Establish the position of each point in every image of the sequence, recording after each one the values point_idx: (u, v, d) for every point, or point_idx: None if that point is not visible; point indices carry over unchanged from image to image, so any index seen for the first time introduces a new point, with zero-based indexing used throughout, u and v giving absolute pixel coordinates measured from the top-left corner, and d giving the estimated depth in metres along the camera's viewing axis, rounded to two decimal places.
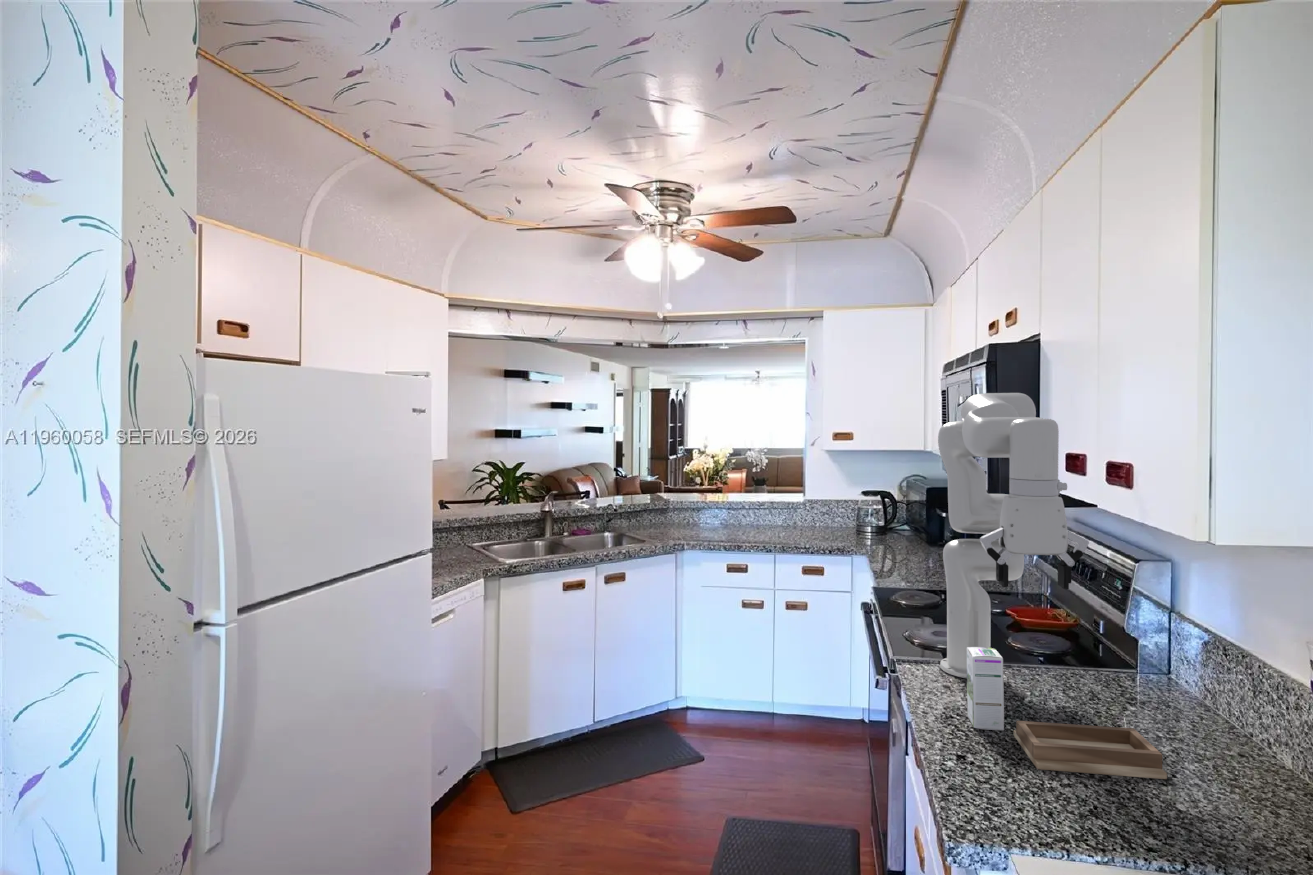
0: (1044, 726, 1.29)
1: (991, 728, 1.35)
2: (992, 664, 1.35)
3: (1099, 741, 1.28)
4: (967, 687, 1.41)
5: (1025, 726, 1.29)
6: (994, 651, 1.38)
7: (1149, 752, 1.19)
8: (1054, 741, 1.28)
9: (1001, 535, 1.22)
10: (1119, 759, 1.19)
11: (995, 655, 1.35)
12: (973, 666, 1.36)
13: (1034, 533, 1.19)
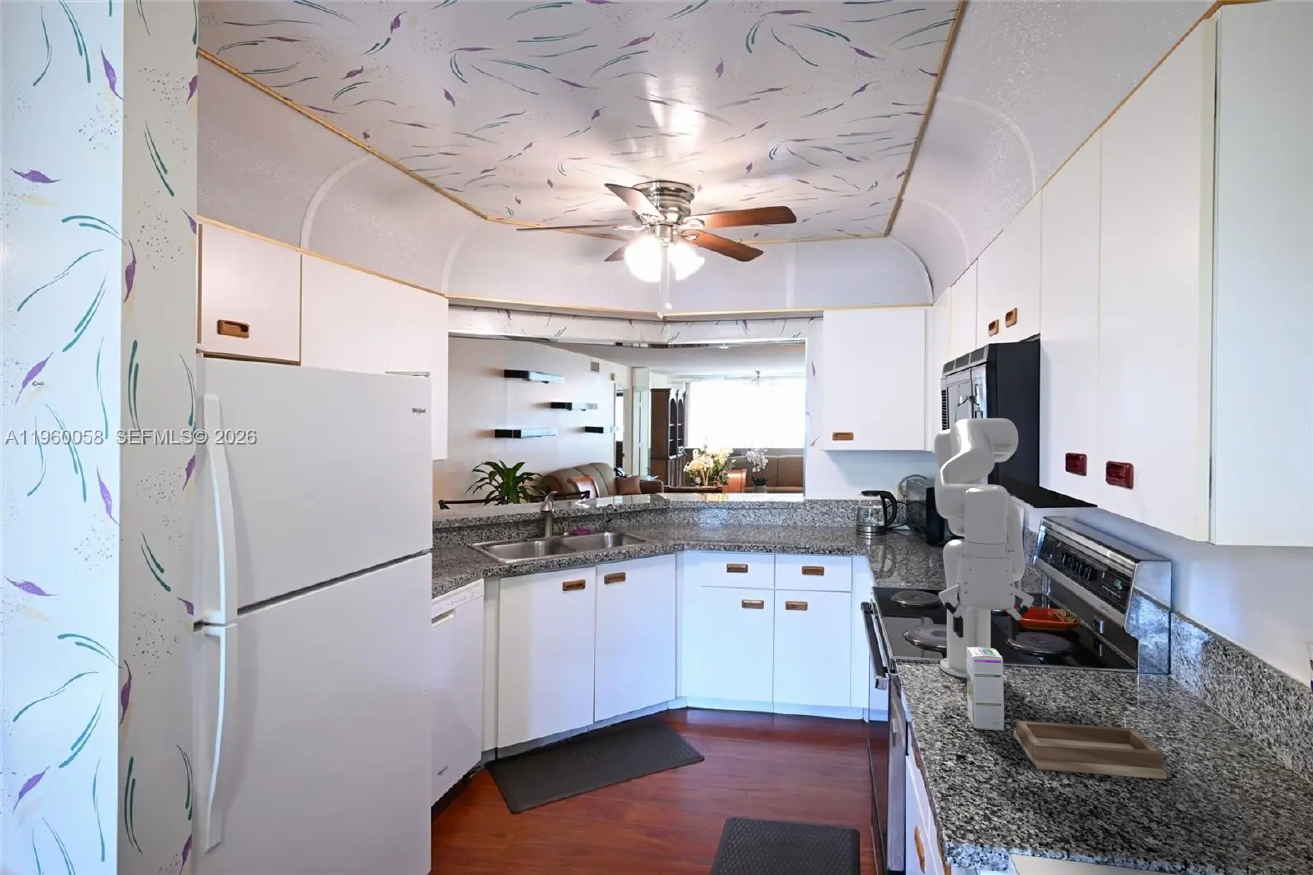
0: (1044, 726, 1.29)
1: (991, 728, 1.35)
2: (992, 664, 1.35)
3: (1099, 741, 1.28)
4: (967, 687, 1.41)
5: (1025, 726, 1.29)
6: (994, 651, 1.38)
7: (1149, 752, 1.19)
8: (1054, 741, 1.28)
9: (957, 591, 1.38)
10: (1119, 759, 1.19)
11: (995, 655, 1.35)
12: (973, 666, 1.36)
13: (985, 590, 1.35)
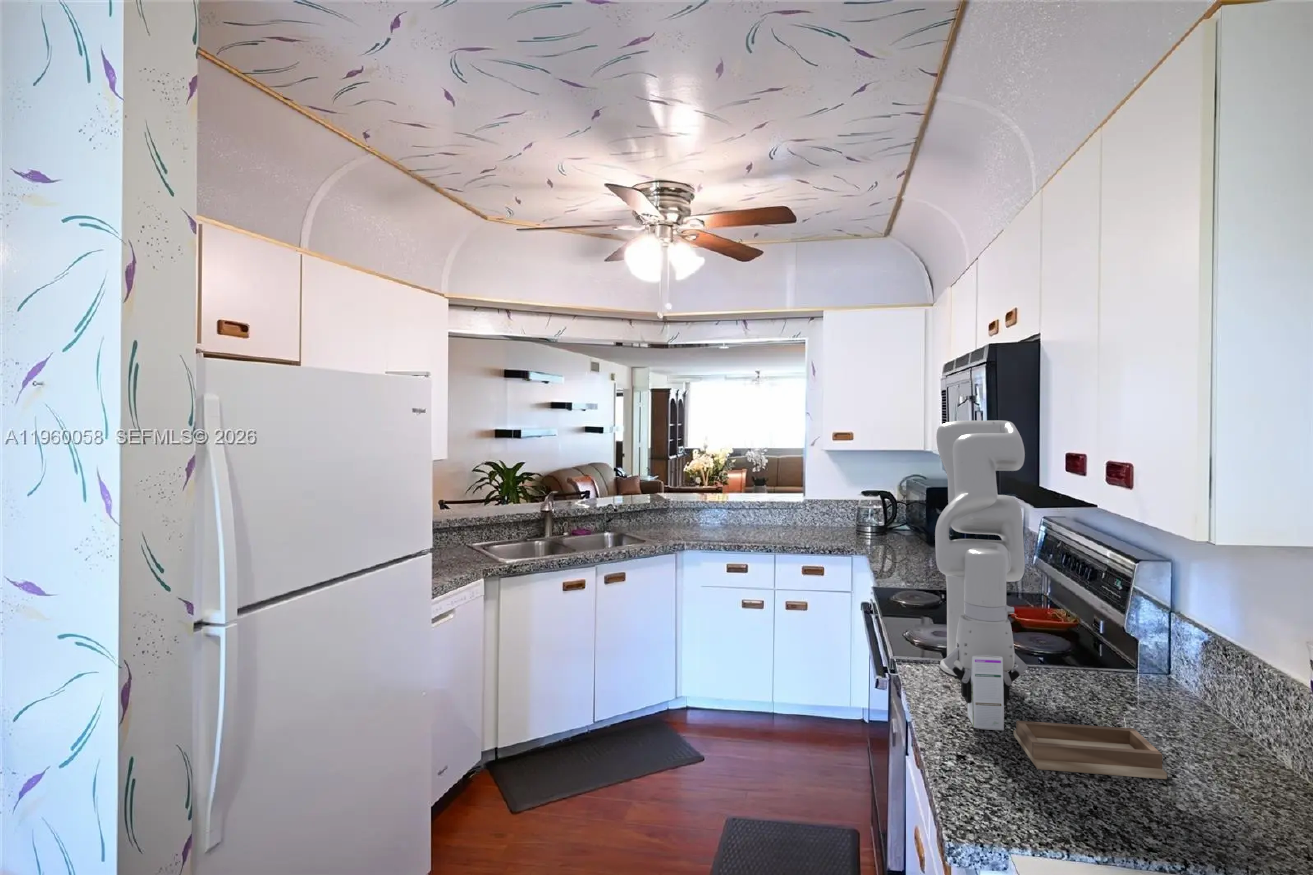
0: (1044, 726, 1.29)
1: (991, 728, 1.35)
2: (992, 664, 1.35)
3: (1099, 741, 1.28)
4: None
5: (1025, 726, 1.29)
6: None
7: (1149, 752, 1.19)
8: (1054, 741, 1.28)
9: None
10: (1119, 759, 1.19)
11: None
12: (973, 666, 1.36)
13: (985, 652, 1.35)
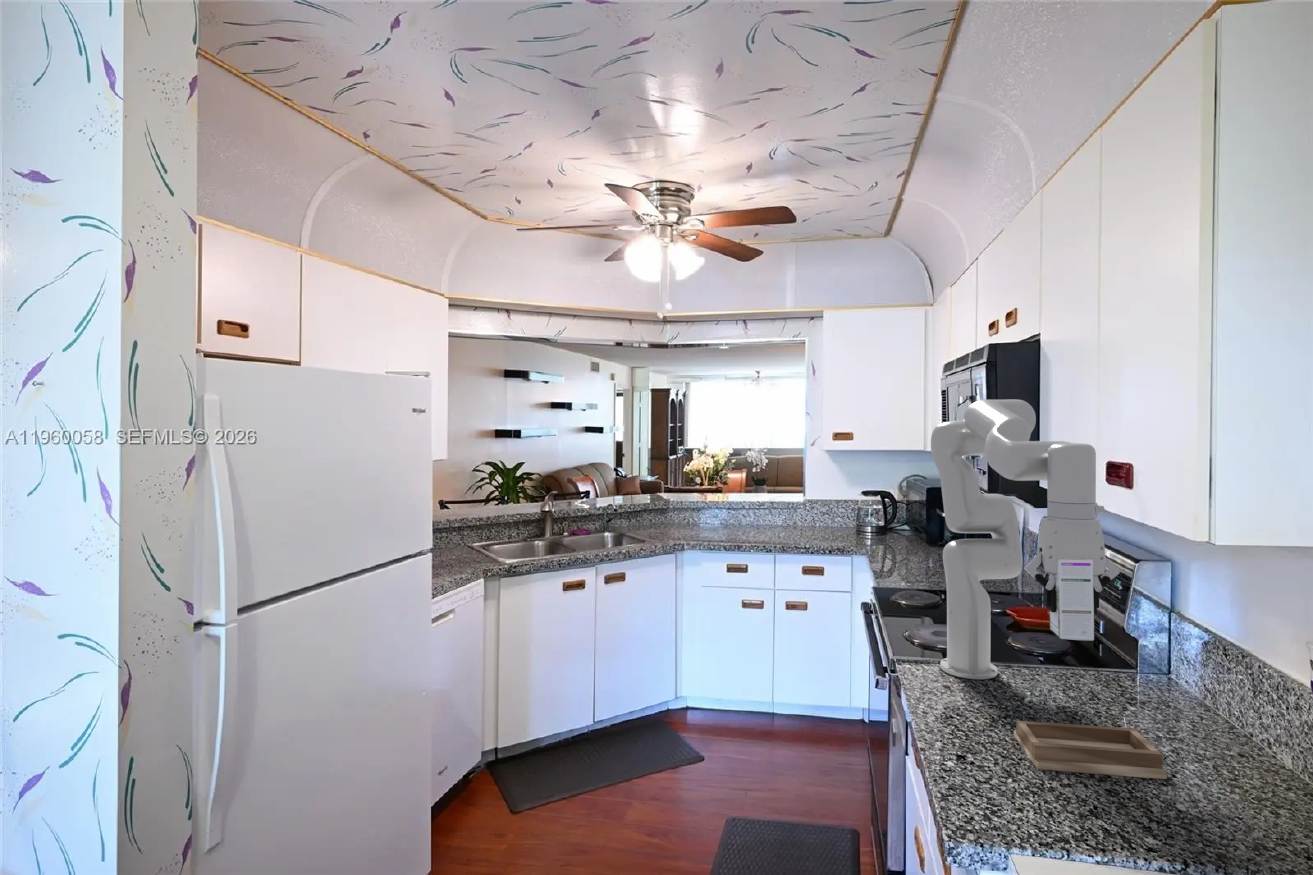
0: (1044, 726, 1.29)
1: (1080, 638, 1.23)
2: (1081, 567, 1.23)
3: (1099, 741, 1.28)
4: None
5: (1025, 726, 1.29)
6: None
7: (1149, 752, 1.19)
8: (1054, 741, 1.28)
9: None
10: (1119, 759, 1.19)
11: None
12: (1059, 570, 1.23)
13: (1072, 555, 1.23)
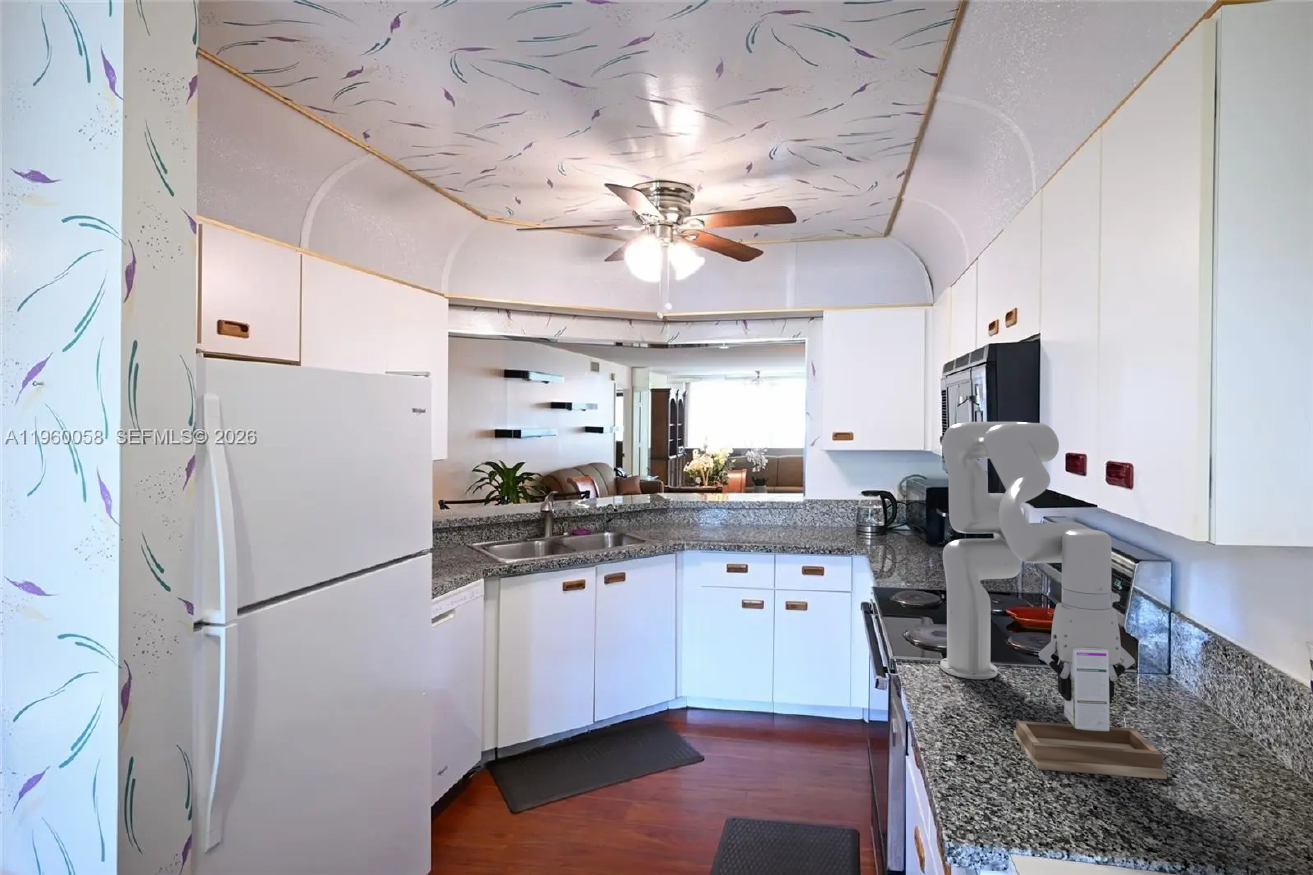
0: (1044, 726, 1.29)
1: (1095, 729, 1.22)
2: (1096, 657, 1.21)
3: (1099, 741, 1.28)
4: None
5: (1025, 726, 1.29)
6: None
7: (1149, 752, 1.19)
8: (1054, 741, 1.28)
9: None
10: (1119, 759, 1.19)
11: None
12: (1074, 660, 1.22)
13: (1088, 644, 1.22)
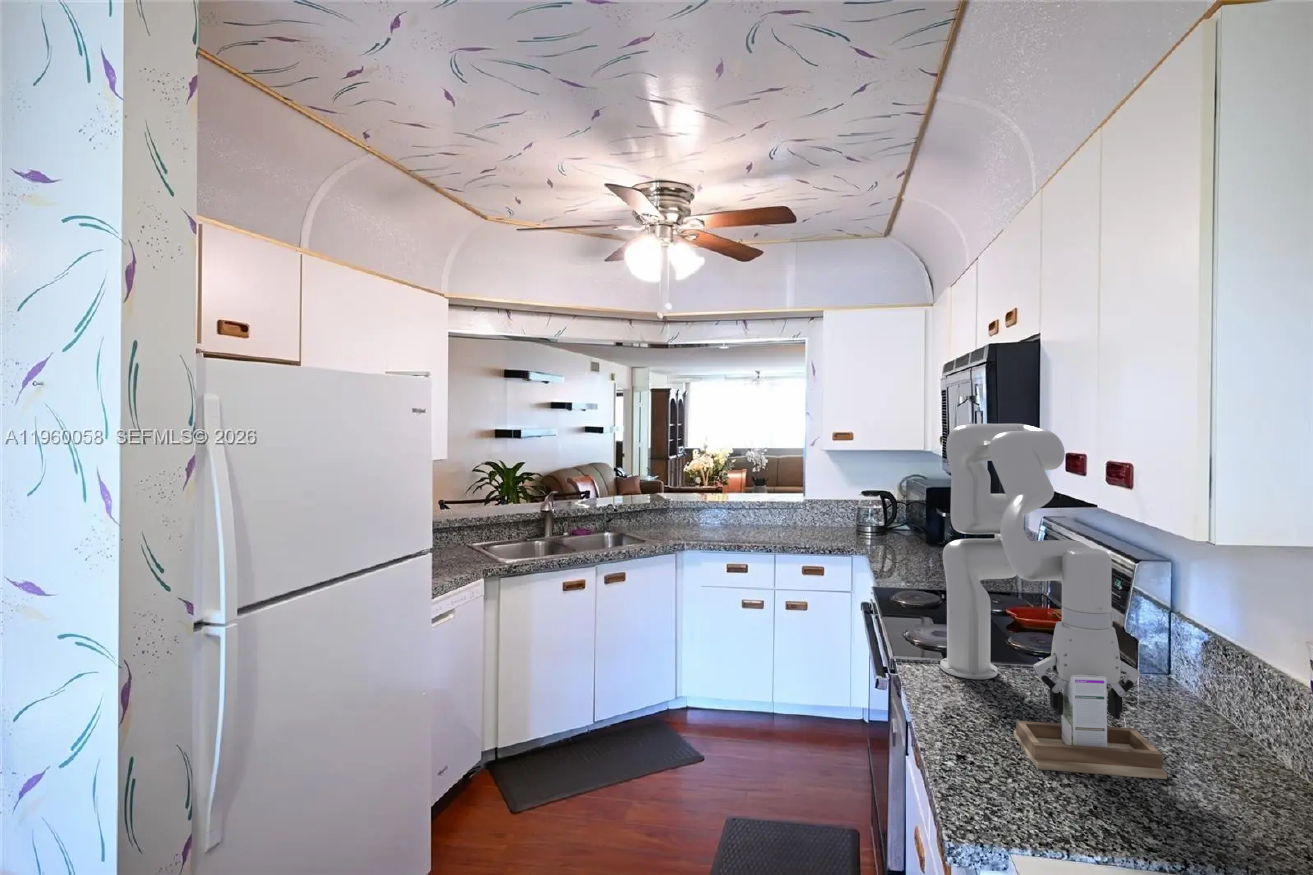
0: (1044, 726, 1.29)
1: None
2: (1094, 685, 1.22)
3: None
4: None
5: (1025, 726, 1.29)
6: None
7: (1149, 752, 1.19)
8: (1054, 741, 1.28)
9: (1054, 663, 1.25)
10: (1119, 759, 1.19)
11: None
12: (1073, 687, 1.22)
13: (1087, 663, 1.22)
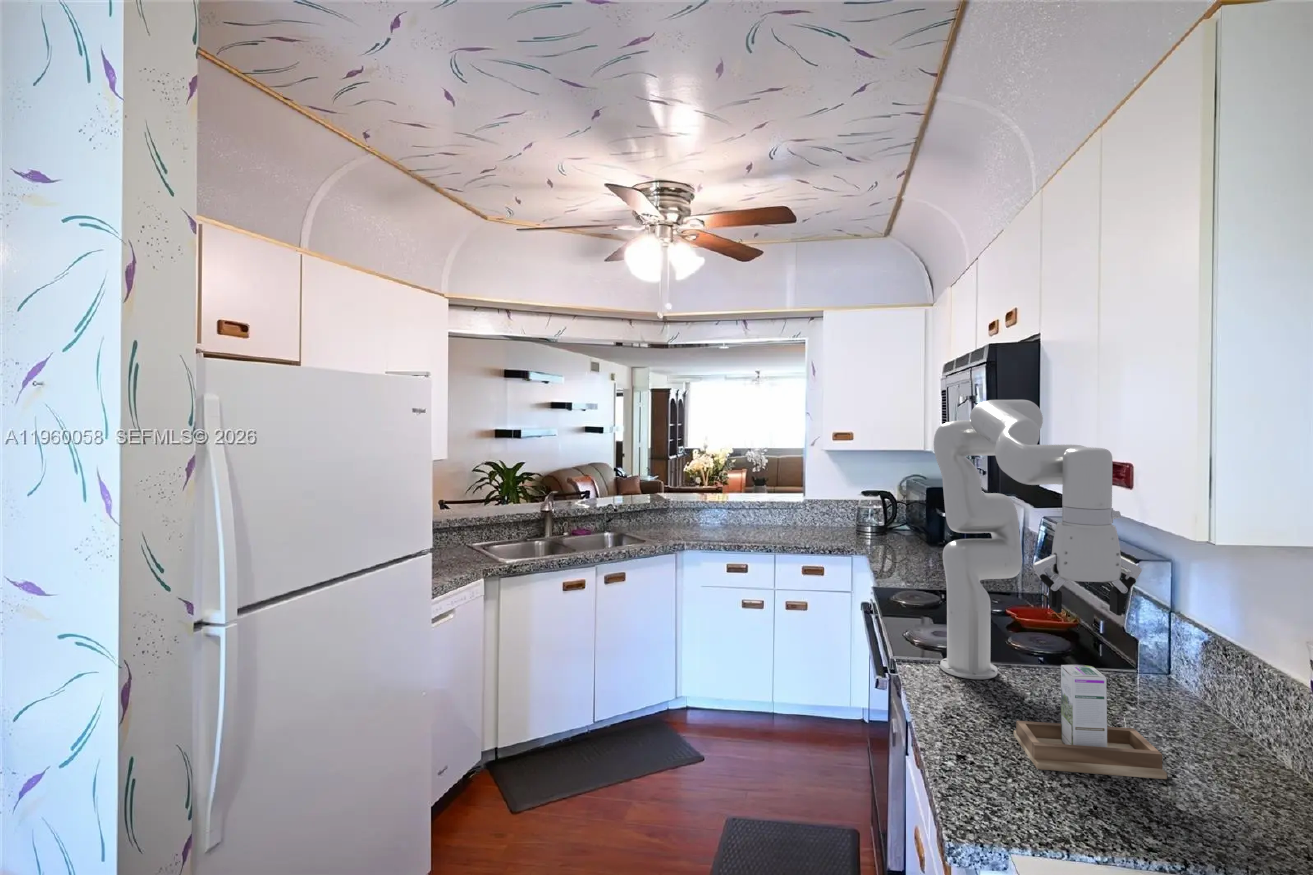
0: (1044, 726, 1.29)
1: None
2: (1094, 684, 1.22)
3: None
4: (1062, 709, 1.27)
5: (1025, 726, 1.29)
6: (1093, 670, 1.25)
7: (1149, 752, 1.19)
8: (1054, 741, 1.28)
9: (1054, 562, 1.24)
10: (1119, 759, 1.19)
11: (1097, 674, 1.22)
12: (1073, 687, 1.22)
13: (1088, 561, 1.22)
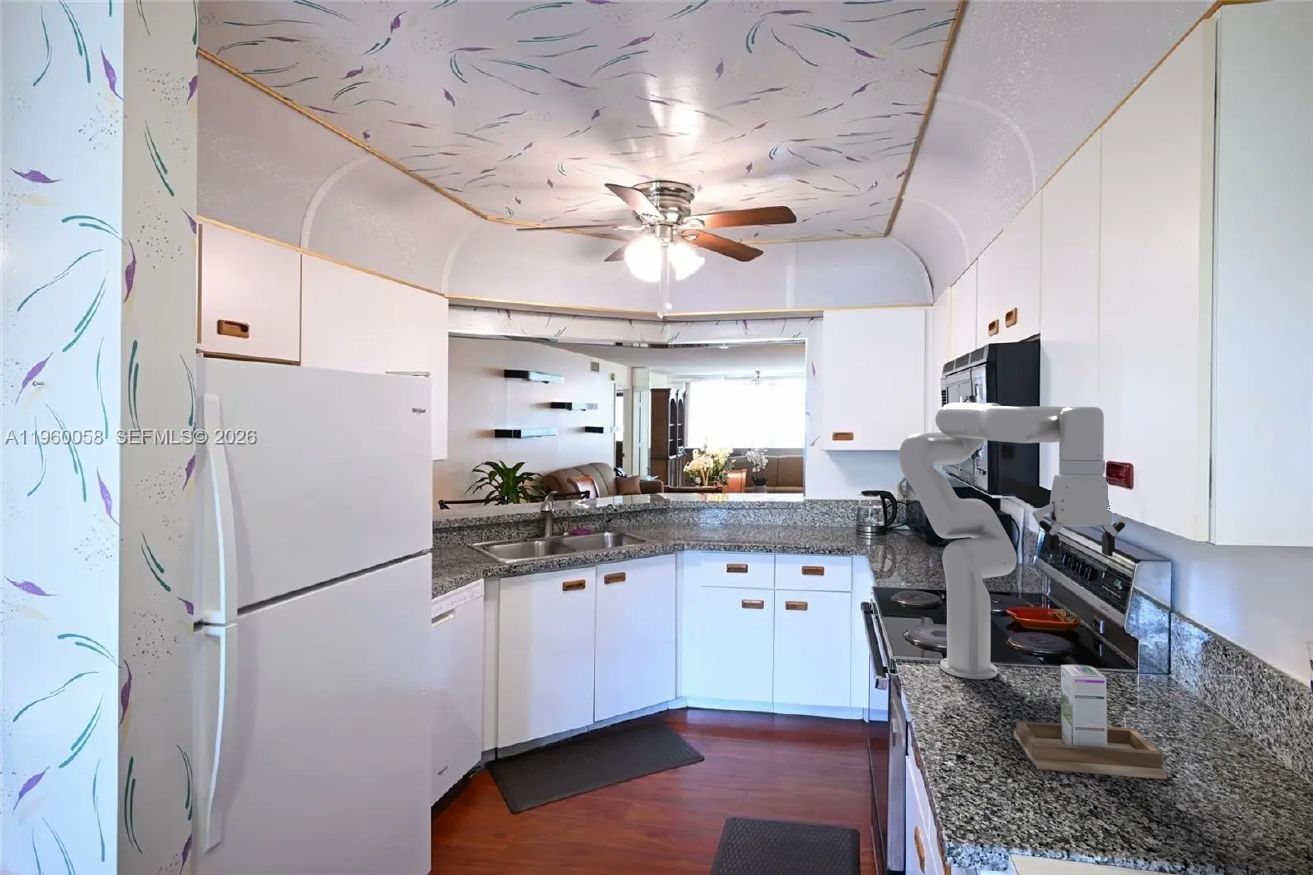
0: (1044, 726, 1.29)
1: None
2: (1094, 684, 1.22)
3: None
4: (1062, 709, 1.27)
5: (1025, 726, 1.29)
6: (1093, 670, 1.25)
7: (1149, 752, 1.19)
8: (1054, 741, 1.28)
9: (1052, 509, 1.39)
10: (1119, 759, 1.19)
11: (1097, 674, 1.22)
12: (1073, 687, 1.22)
13: (1082, 507, 1.36)
